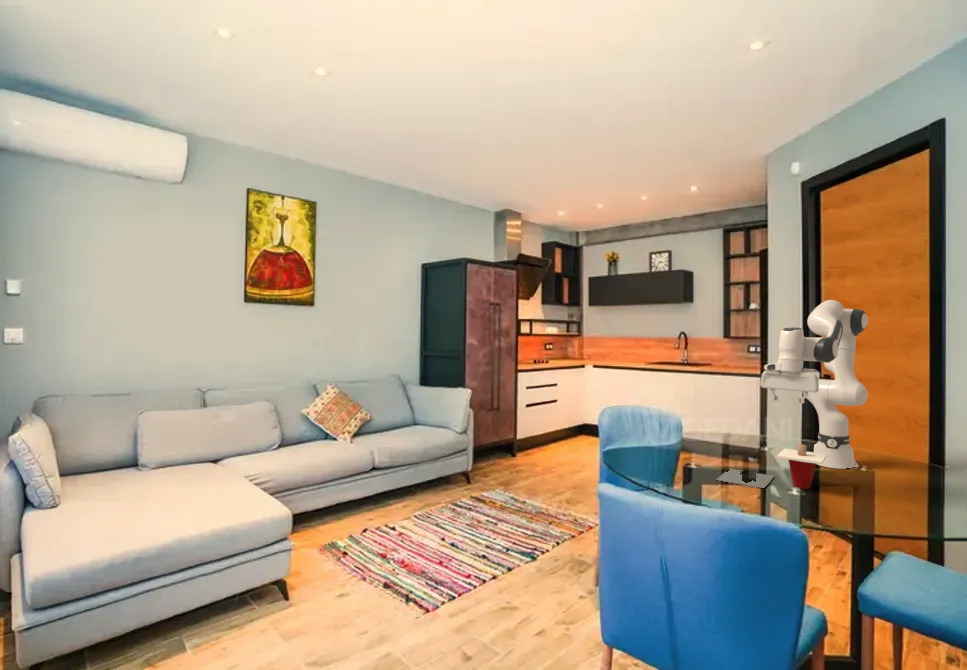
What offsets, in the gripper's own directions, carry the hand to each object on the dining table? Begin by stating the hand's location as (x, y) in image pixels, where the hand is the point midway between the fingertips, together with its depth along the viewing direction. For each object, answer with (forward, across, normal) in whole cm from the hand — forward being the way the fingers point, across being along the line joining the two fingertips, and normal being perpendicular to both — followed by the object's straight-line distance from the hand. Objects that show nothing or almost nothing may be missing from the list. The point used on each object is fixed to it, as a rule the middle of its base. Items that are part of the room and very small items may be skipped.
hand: (788, 401), depth 207 cm
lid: (+22, -4, -6) cm, 23 cm away
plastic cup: (+34, -5, -7) cm, 35 cm away
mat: (+34, +15, -2) cm, 37 cm away
